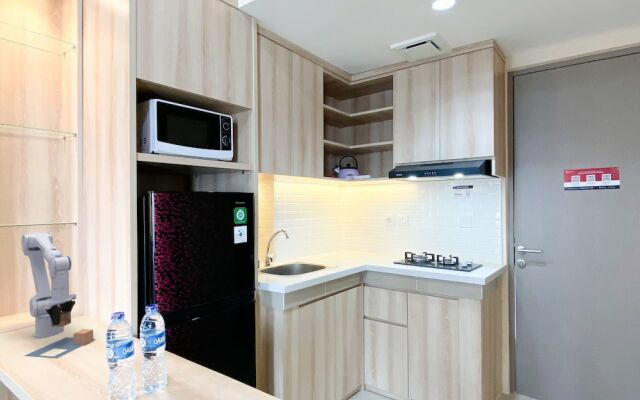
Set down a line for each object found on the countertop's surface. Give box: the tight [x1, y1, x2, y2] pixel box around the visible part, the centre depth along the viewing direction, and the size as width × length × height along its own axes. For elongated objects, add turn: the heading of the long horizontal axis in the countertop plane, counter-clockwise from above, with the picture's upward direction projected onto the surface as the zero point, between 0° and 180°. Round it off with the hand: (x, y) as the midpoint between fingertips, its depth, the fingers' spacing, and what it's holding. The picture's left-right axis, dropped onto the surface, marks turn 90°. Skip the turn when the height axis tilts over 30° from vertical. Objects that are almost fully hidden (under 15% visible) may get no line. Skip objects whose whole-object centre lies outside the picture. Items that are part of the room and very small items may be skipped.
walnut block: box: [51, 311, 72, 327], centre depth 146 cm, size 4×4×4 cm
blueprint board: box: [24, 337, 96, 359], centre depth 142 cm, size 18×14×1 cm
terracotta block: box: [73, 328, 94, 346], centre depth 146 cm, size 4×4×4 cm
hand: (61, 322), depth 146 cm, fingers closed on walnut block, 4 cm apart
